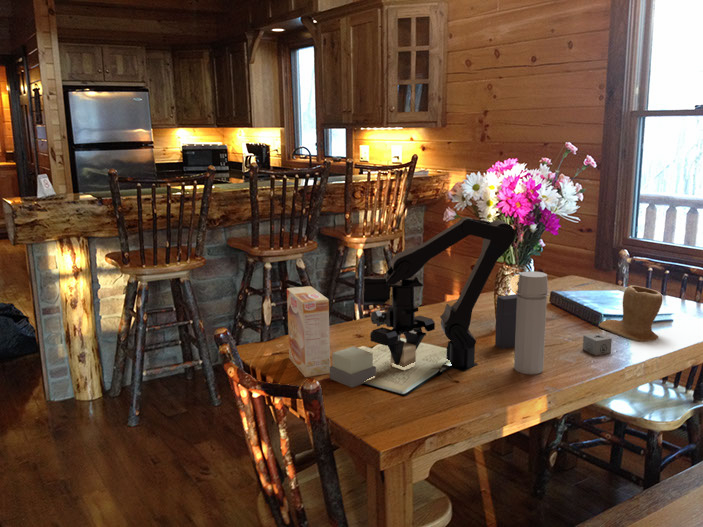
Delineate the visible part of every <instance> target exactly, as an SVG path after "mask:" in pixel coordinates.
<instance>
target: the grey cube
mask: <svg viewBox="0 0 703 527" xmlns="http://www.w3.org/2000/svg"><path fill="white" fill-rule="evenodd" d="M582 337H583V338H582V341H583V343H582V350H583V351H585V352H587V353H589V354H591V355H594V356H600V355H605V354H611V352H612V340H613V339H612V338H611V337H610V336H607V335H604V334H602V333H600V332H596V333H591V334H584V335H583V336H582Z"/></svg>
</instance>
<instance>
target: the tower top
mask: <svg viewBox="0 0 703 527" xmlns="http://www.w3.org/2000/svg"><path fill="white" fill-rule="evenodd" d="M331 355H332V358H331V359H332V364H331V365H332V366H333V367H335V368H337V369H340V370H342V371H345V372H347V373H349V374H353V373H356V372H359V371H362V370H365V369H368V368H371V367H373V366H374V363H373V360H374V359H373V358H374V357H373V353H372V352H371V351H370V352H369V351H367V350H365V349H362V348H359V347H357V346H350V347H346V348H344V349H340V350H337V351H334V352H332V353H331Z"/></svg>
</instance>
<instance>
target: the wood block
mask: <svg viewBox="0 0 703 527" xmlns="http://www.w3.org/2000/svg"><path fill="white" fill-rule="evenodd" d="M416 351H417V350H416V345H413V344H409V343H406V341H404V346H403V350H402V355H401V359H400V363H399V365H400V366H402V367H405V366H407V365H409V364H411V363H414V362H417V360H416V358H417V356H416V354H417V352H416ZM391 363H394V360H393V357H392V355H391V354H390V364H391ZM394 364H395V363H394Z"/></svg>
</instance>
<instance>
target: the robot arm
mask: <svg viewBox="0 0 703 527" xmlns="http://www.w3.org/2000/svg"><path fill="white" fill-rule="evenodd" d="M469 236H472V237H473V236H474V237H477V238H481V239H483V240H482V245H481V246H482V247H481V252H480V254H479V256H478V258H477V259H476V261H475V264H474V266H473V269H472V270H471V273H470V274H469V276H468V278H467V279H466V280H467V281H466V283H465V284H464V286H463V289H462V290H461V292H460V294H459V297H458V299H457V300H456V302H454V303H453V304H452V305H450V304H448V303H446V305H445V307H444V310H443V312H442V314H441V315H440V316H439V318H440V319H441V321H440V327H441V330H442V332H443V333H444V335H445V337H446V338H447V339H448V340H449V341H447V346H446V359H448V360H450V362H451V364H452V366H450V367H449V368H451V369H453V370H457V371H460V372H466V371H468V370H470V369H473V368H475V367H477V366H478V365H479V363H478V362H475V357H476V356H475V355H476V354H475V353H476V344H477V339H476V338H475V337H474V335H473V333H472V332H471V330H470V329H469V328H470V325H471V321H472V316H473V315H472V313H473V310H474V307H475V305H476V303H477V301H478V299H479V297H480V295H481V293H482V291H483V290H484V287H485V285H486V284H487V282H488V280H489V278H490V275H491V274H492V271H493V270H494V267H495V266H496V264H497V262H498V260H499V259H500V258H501V257H502V256H503V255H504V254H505V253H507V251H508V250H509V249H510V247H511V246H512V244H513V243H514V241H515V239H516V237H517V233H516V231H515V228H514V227H513V226H512V225H511V224H510V223H508V222H505V221H504V220H501V219H497V220H496V219H494V220H493V221H487V220H481V219H476V218H472V217H470V216H464V217H461V218H460V219H459V220H458V221H457V222H455V223H454V224H451V226H449V227H447V228H445V229H444V230H442V231H441V232H439V233H438V234H435V236H433V237H431V238H430V239H428V240H426V241H425V242H423V243H422V244H419V245H417V246H413V247H410V248H407V249H404V250H403V251H402V250H401V251H400V252H398V253H396V254H395V255H393V256H392V259H391V262H390V263H391V265H390V267H389V268H388V269H387V270H386V272H385V273H384V274H383V277H379V276H378V277H374V276H373V277H371V276H363V285H362V305H384V304H385V305H386V303H388V301H389V300H390V299H391V306H388V308H387V311H383V312H381V310H375V311H372V312H371V313H370V320H371V323H372V324H373V325H376V327H378V328H376V329H373V330H371V331H370V339H369V340H370V342H373V343H376V344H379V345H382V346H386V347H388V350H389V352H390V356H391V355H392V357H393V360H394V363H395V364H396V365H399V363H400V359H401V355H402V350H403V346H404V342H406V343H409V344H413V345H416V351H417V350H418V348H419V346H420V344H421V342H422V341H423V339H424V337H425V336H427V332H431V331H434V330H435V329H436V322H435V321H434V320H433V318H430V317H426V316H424V315H417V316H416V312H417V313H418V312H419V306H416V304H415V303H416V295H415V294H416V287H417V288H419V287H423V286H424V284H423V282H422V281H421V279H419V277H418V276H417V275H416V274H417V273H419V271H420V270H422V269H423V268H424V267H425V266H426V264H427V263H428V262H429V261H430V260H431V259H433V258H434V257H436V256H438V255H439V254H441V253H442V252H444V251H445V250H447V249H449V248H451V247H452V246H454V245H456V244H457V243H459V242H460V241H462V240H463V239H465V238H467V237H469ZM385 325H386V327H387V328H386V327H384V326H385ZM380 326H382V327H380ZM389 328H392V329H389ZM422 328H424V330H425V331H426V332H424V331H423V329H422ZM401 335H404V338H405V341H404V340H401Z"/></svg>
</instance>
